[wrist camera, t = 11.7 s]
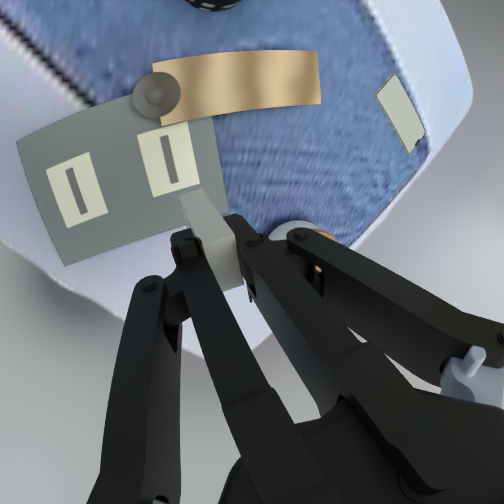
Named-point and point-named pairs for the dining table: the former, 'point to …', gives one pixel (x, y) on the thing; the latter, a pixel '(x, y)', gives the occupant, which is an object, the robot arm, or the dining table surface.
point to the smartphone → (400, 112)
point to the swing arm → (227, 84)
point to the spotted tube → (213, 4)
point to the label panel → (117, 176)
